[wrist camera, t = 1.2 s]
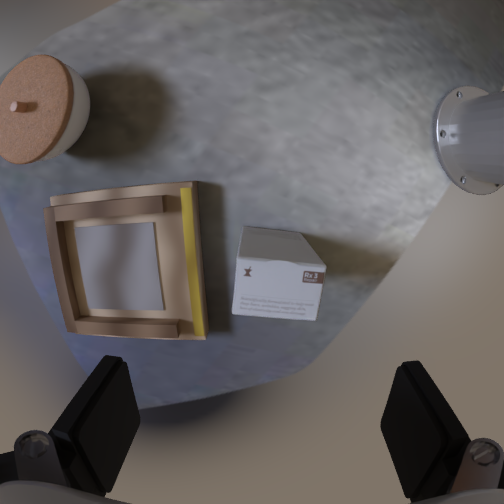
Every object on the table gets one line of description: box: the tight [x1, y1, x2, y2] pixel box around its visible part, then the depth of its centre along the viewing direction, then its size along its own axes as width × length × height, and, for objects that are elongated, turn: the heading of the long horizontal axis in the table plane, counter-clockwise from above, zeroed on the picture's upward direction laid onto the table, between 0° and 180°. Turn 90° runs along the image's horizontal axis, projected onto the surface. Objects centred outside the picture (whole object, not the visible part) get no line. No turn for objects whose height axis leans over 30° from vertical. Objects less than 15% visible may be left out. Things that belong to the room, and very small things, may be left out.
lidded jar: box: [0, 55, 90, 164], centre depth 25 cm, size 11×11×9 cm
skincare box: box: [232, 226, 327, 321], centre depth 27 cm, size 6×4×12 cm
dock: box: [43, 181, 209, 340], centre depth 32 cm, size 16×16×4 cm
